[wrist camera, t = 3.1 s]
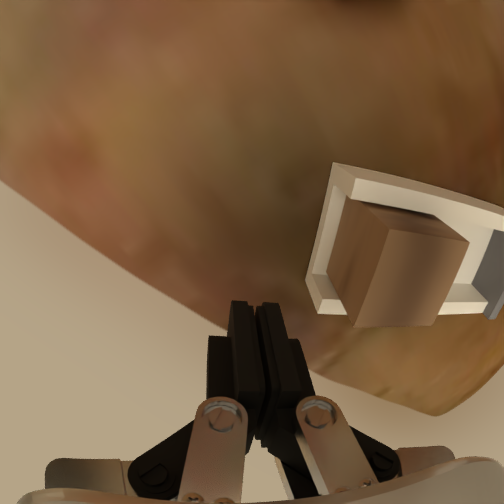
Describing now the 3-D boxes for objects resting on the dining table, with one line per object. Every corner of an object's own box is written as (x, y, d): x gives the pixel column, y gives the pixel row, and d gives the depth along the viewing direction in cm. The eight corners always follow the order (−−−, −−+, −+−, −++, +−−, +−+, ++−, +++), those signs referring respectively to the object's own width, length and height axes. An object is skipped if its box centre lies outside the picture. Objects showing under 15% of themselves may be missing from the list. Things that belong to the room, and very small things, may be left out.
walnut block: (419, 205, 20) (469, 242, 14) (395, 276, 22) (431, 325, 17) (347, 190, 19) (389, 229, 14) (326, 271, 22) (353, 327, 16)
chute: (500, 206, 21) (536, 229, 17) (467, 289, 25) (495, 318, 21) (332, 162, 19) (362, 183, 15) (304, 280, 23) (321, 323, 19)
